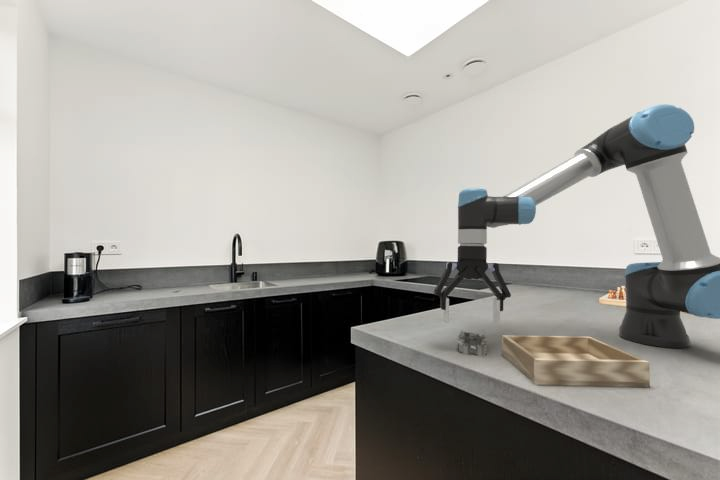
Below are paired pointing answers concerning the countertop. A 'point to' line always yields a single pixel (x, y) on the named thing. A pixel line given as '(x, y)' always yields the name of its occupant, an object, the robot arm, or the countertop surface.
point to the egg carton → (472, 343)
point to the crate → (574, 361)
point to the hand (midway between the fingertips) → (471, 322)
